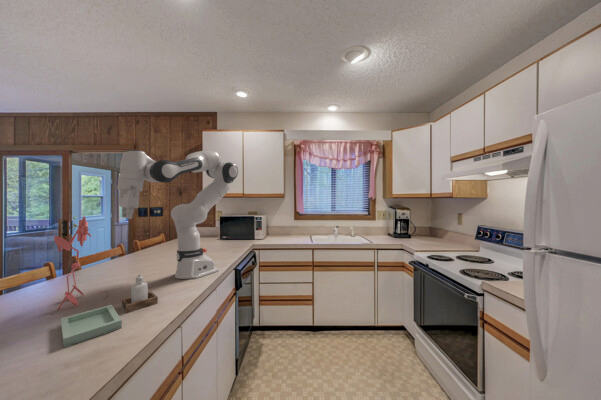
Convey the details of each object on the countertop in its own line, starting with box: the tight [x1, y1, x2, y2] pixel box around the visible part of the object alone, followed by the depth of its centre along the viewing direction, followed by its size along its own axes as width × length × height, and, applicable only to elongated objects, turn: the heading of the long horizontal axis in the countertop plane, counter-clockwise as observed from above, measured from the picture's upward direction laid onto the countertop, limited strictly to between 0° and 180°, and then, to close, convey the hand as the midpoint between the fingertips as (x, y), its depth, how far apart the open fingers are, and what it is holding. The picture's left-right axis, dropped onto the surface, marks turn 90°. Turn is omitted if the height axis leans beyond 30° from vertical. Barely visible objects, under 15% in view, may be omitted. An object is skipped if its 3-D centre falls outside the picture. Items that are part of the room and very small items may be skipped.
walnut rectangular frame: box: [121, 291, 159, 313], centre depth 90 cm, size 10×8×2 cm
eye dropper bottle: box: [130, 273, 149, 304], centre depth 90 cm, size 4×6×12 cm
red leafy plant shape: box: [51, 216, 109, 316], centre depth 95 cm, size 15×26×35 cm, turn 33°
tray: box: [60, 304, 123, 349], centre depth 74 cm, size 17×13×2 cm
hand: (126, 218), depth 99 cm, fingers open, 8 cm apart
